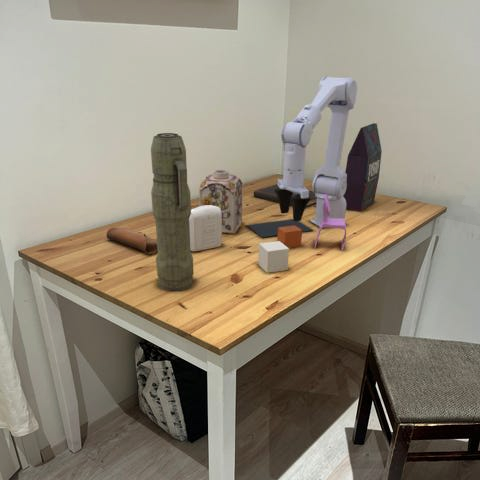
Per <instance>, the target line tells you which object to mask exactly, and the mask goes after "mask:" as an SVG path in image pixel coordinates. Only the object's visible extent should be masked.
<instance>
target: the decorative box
mask: <svg viewBox="0 0 480 480" xmlns="http://www.w3.org/2000/svg"><path fill="white" fill-rule="evenodd" d="M382 152H383V151H382V145H381V140H380V133H379V128H378V123H375V122H373V123H370V124H368V125H365V126H362V127H360V129H359V130H358V132H357V135H356V137H355V139H354V141H353V144H352V146H351V148H350V150H349V152H348V154H347V158H346V164H345V165H346V166H345V170H344V172H345V173H346V174H347V180H346V182H347V187H346V191H345V194H344V195H343V197H344V198H345V200H346V210H350V211H355V212H362V211H363V210H365V209H366V208H368V207H369V206H370V205H372V204H373V203H374V202H375V198H376V194H377V189H378V184H379V179H380V170H381V161H382Z"/></svg>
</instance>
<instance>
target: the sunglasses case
mask: <svg viewBox="0 0 480 480" xmlns="http://www.w3.org/2000/svg"><path fill="white" fill-rule="evenodd" d="M106 239H108V240H110V241H115V242H119V243H122V244H123V245H127V246H130V247H132V248H135V249H137V250H140V251H142V252H145V253H147V254H148V255H152V254H155V253H158V248H157V239H155V238H153V237H151V236H148V235H147V234H146V233H144V232H141V231H139V230H134V229H130V228H126V227H111V228H108V230H107V232H106Z"/></svg>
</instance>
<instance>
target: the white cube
mask: <svg viewBox="0 0 480 480" xmlns="http://www.w3.org/2000/svg"><path fill="white" fill-rule="evenodd" d="M289 253H290V248H287V247H286V246H285V245H284V244H283V243H281V242H280V241H277V240H276V241H268V242H259V243H258V256H257V257H258V261H257V262H258V263H257V265H258V266H259V267H260V268H261V269H263V271H265V273H267V274H269V273H276V272H283V271H287V270H288V268H289V256H290V254H289Z"/></svg>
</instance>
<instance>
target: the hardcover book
mask: <svg viewBox="0 0 480 480" xmlns="http://www.w3.org/2000/svg"><path fill="white" fill-rule="evenodd" d="M277 188H279V186H278V183H276V184H273V185H269V186H266V187H263V188H259V189H256V190H254V191H253V197H255V198H259V199H261V200H262V199H263V200H266V201H271V202H275V203H278V204H279V200H278V197H277V194H276V192H275V189H277ZM307 190H308V191H309V197H311V200H310V201H309V202H308V204H307V206H306V208H308V207H310V206H313V205H315V204H316V203H317V197H316V196H315V193H314V192H313V190H309V189H307ZM292 196H297V194H295V193H293V194H292ZM290 206H291V207H292V202H291V201H290Z"/></svg>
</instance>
